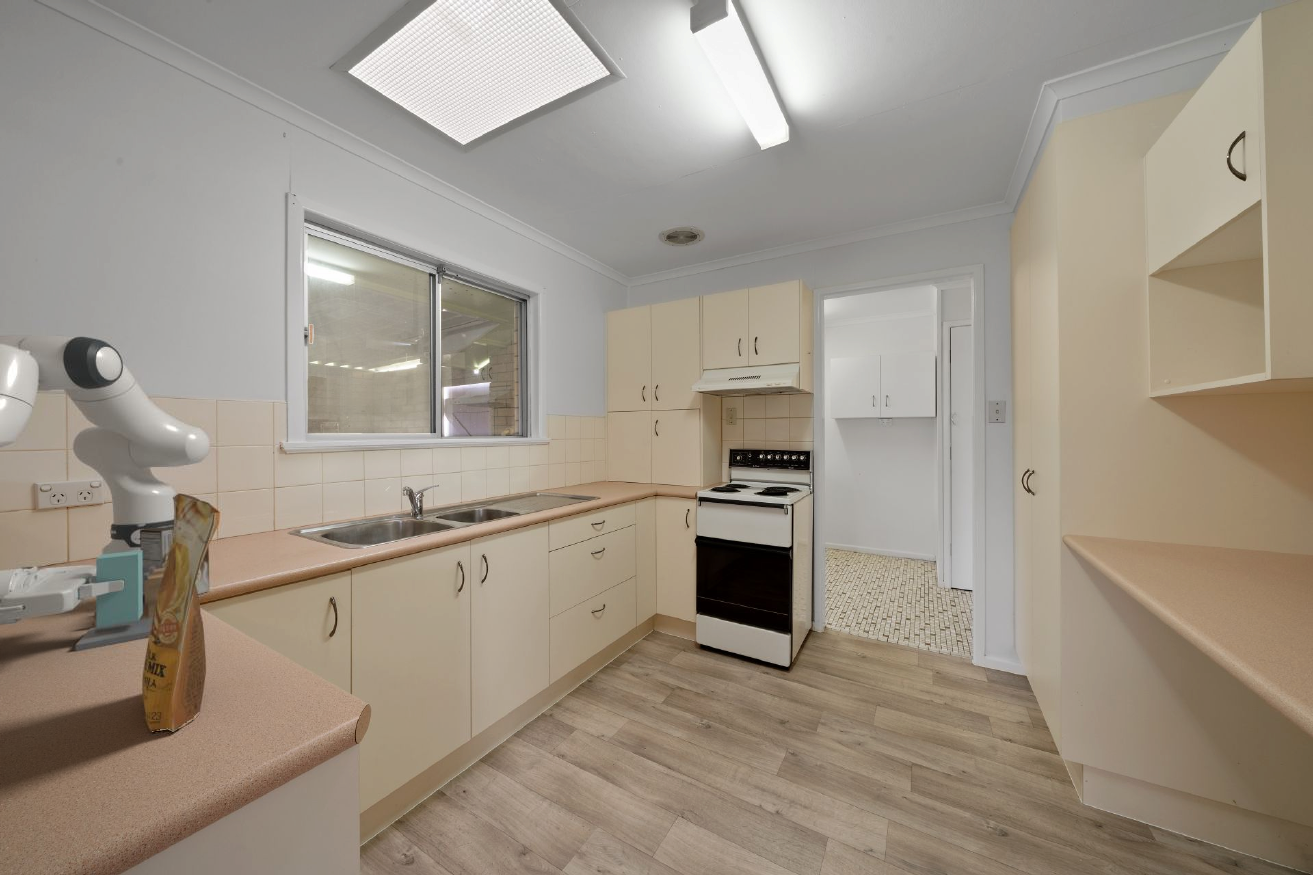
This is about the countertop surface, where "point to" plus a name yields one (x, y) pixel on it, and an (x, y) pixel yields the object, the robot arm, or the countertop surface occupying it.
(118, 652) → the countertop surface
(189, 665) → the pancake mix bag
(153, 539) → the coffee box
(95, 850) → the countertop surface
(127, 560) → the tall teal pillar
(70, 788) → the countertop surface
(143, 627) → the pad
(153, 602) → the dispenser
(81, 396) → the robot arm
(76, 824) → the countertop surface
